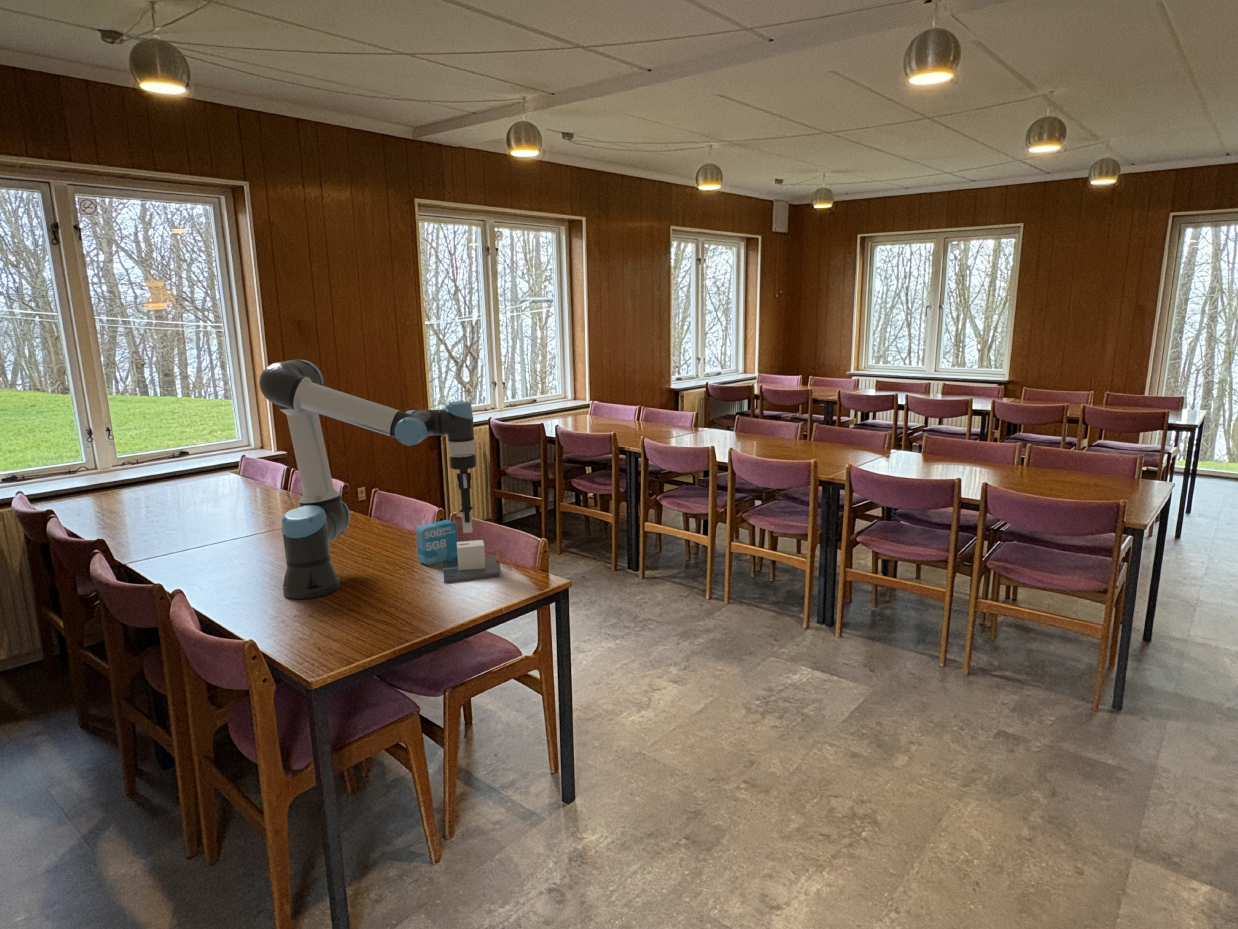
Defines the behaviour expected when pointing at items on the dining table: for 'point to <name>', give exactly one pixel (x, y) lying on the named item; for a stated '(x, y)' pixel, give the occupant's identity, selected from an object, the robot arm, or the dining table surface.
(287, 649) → the dining table surface
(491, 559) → the plate
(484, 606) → the dining table surface
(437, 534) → the data package
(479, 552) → the white box
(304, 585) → the robot arm
